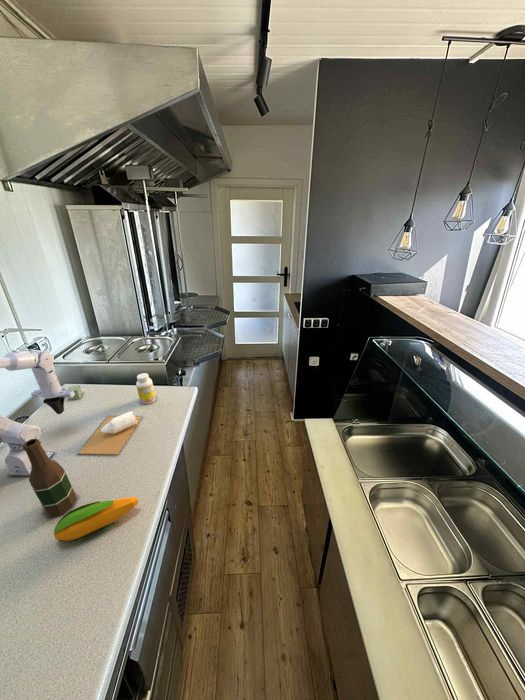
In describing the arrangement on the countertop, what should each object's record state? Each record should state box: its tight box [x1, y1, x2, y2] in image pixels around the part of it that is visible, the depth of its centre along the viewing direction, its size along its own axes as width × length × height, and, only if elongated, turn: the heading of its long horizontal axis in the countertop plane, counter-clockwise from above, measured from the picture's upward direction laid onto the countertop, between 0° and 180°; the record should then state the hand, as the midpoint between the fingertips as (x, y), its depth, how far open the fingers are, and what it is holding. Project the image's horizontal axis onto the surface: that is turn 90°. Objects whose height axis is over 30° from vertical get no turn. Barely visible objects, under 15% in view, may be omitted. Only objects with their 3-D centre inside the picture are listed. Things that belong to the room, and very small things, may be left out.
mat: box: [78, 416, 142, 456], centre depth 109 cm, size 20×14×1 cm
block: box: [67, 384, 83, 401], centre depth 131 cm, size 4×4×4 cm
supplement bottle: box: [135, 372, 157, 405], centre depth 126 cm, size 7×7×13 cm
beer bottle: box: [23, 438, 77, 517], centre depth 78 cm, size 8×8×24 cm
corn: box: [53, 496, 139, 543], centre depth 76 cm, size 7×8×20 cm
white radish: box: [101, 410, 138, 433], centre depth 110 cm, size 6×12×6 cm, turn 133°
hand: (60, 412), depth 107 cm, fingers closed
